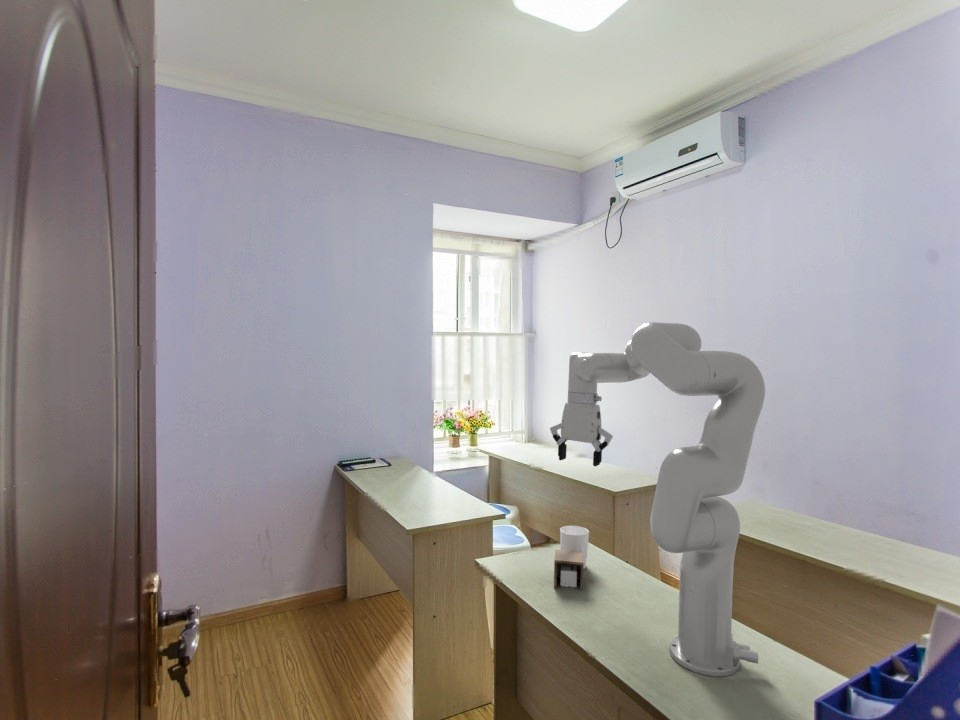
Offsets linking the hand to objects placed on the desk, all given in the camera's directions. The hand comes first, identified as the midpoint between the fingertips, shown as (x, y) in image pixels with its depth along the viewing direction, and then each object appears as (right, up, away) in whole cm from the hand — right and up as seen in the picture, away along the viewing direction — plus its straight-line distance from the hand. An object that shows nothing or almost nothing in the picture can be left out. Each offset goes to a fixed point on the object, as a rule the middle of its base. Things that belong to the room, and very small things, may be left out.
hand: (579, 462), depth 141 cm
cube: (-4, -30, -5) cm, 31 cm away
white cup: (0, -30, +6) cm, 31 cm away
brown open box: (-4, -30, -5) cm, 31 cm away
